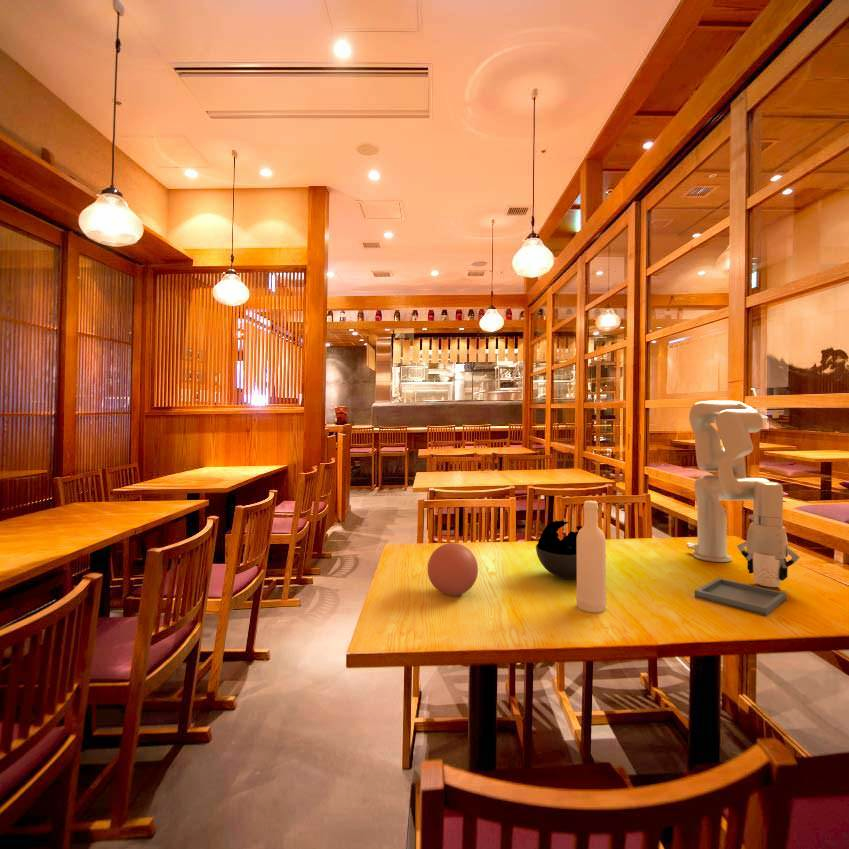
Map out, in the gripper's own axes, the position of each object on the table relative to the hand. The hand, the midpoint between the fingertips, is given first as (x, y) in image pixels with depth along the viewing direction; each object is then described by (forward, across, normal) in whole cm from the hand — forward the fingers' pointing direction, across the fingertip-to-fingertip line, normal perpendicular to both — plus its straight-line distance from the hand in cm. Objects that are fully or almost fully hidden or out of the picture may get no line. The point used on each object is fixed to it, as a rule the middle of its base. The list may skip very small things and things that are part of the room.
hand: (766, 575), depth 151 cm
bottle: (+3, -25, -58) cm, 64 cm away
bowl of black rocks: (+4, -45, -42) cm, 62 cm away
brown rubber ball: (+3, -60, -80) cm, 101 cm away
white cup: (+3, 0, 0) cm, 3 cm away
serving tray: (+3, -1, -18) cm, 19 cm away
